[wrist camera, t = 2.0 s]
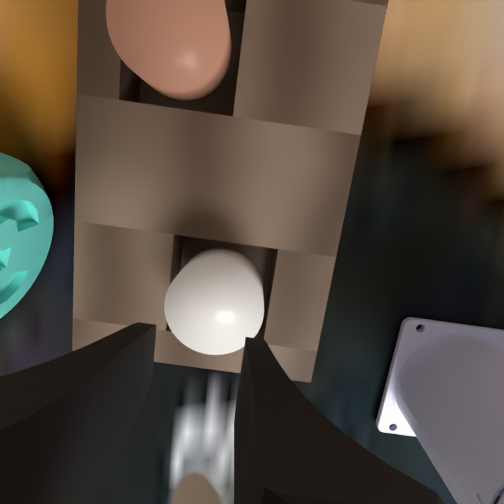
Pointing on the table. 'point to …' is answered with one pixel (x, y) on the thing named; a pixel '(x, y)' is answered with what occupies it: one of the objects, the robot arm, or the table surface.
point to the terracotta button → (173, 43)
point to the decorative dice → (21, 230)
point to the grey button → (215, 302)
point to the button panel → (222, 172)
